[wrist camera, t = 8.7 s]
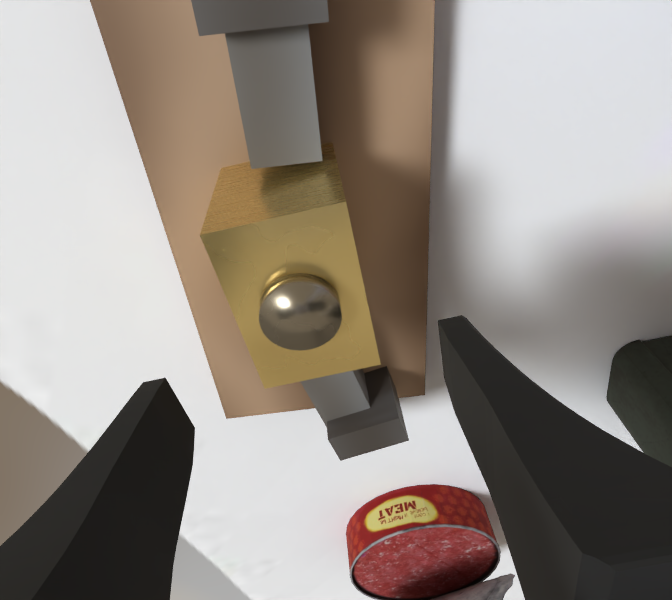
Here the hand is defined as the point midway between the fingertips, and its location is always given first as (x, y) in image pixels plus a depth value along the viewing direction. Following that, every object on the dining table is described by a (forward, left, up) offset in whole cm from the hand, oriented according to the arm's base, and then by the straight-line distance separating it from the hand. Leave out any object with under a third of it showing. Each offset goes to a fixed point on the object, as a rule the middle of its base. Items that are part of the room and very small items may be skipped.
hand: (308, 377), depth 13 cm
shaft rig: (0, 0, -9) cm, 9 cm away
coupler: (0, 0, -8) cm, 8 cm away
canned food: (-5, +24, -9) cm, 26 cm away
